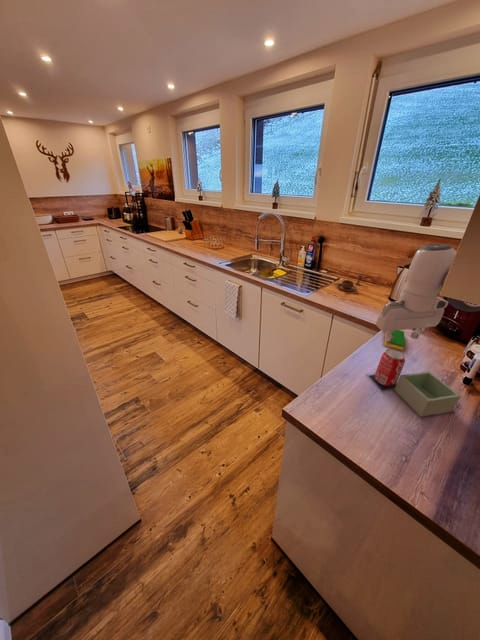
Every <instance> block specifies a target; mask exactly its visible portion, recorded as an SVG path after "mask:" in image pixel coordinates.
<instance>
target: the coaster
mask: <svg viewBox="0 0 480 640" xmlns="http://www.w3.org/2000/svg"><path fill="white" fill-rule="evenodd" d="M368 377H369V378H370V379H371V380H372V381H373V382H374V383H375V385H376V386H378V387H379V389H380V390H381V391H384V390H391V389H395V387H396V384H397V382H396V384H395V385H393V386H385V385H382V384H381V383H379V382H378V381H377V380H376V378H375V374H370V375H369V376H368Z"/></svg>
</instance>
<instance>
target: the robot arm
mask: <svg viewBox="0 0 480 640" xmlns="http://www.w3.org/2000/svg"><path fill="white" fill-rule="evenodd" d="M456 252H457V251H456V250H455V249H454V247H453V246H451V245H448V244H441V243H439V244H438V243H437V244H427V245H424V246H422V247H420V248H419V249H418V250H417V251H416V252H415V254H414V255H413V258H412V260H411V263H410V265H409V268H408V270H407V273H406V281H405V282H404V284H403V286H402V288H401V291H400V294H399V296H398V300H397V301H389V302H388V303H386V304H385V305H383V307H382V309H381V311H380V312H379V314H378V317H377V319H376V322H375V326H376V328H378V329H379V330H380V331H381V332H384V334H385V333H386V337H385V336H384V341H385V340H386V341H388V342H390V341H393V339H394V337H393V336H392V335H391V333H393V331H395V330H400V331H404V330H414V331H411V333H410V338H411V339H412V340H416V339H419V337H420V335H421V334H422V333H424V332H425V330H426V329H427V328H433V327H434V328H435V327H436V326H438V325H439V324H440V323H441V320H442V318H443V315H444V313H445V308H447V307H448V305H450V306H451V307H453V308H454V309H457V310H459V311H461V312H469V313H470V312H480V305H474V304H470V303H466V302H462V301H458V300H453V299H450V298H447V297H446V299H444V298H443V297H440V296H438V294H439V293H442V292H441V290H442V287H443V285H444V282H445V279H446V277H447V275H448V271H449V269H450V266H451V264H452V262H453V259H454V257H455V255H456ZM415 328H416V329H415Z"/></svg>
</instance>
